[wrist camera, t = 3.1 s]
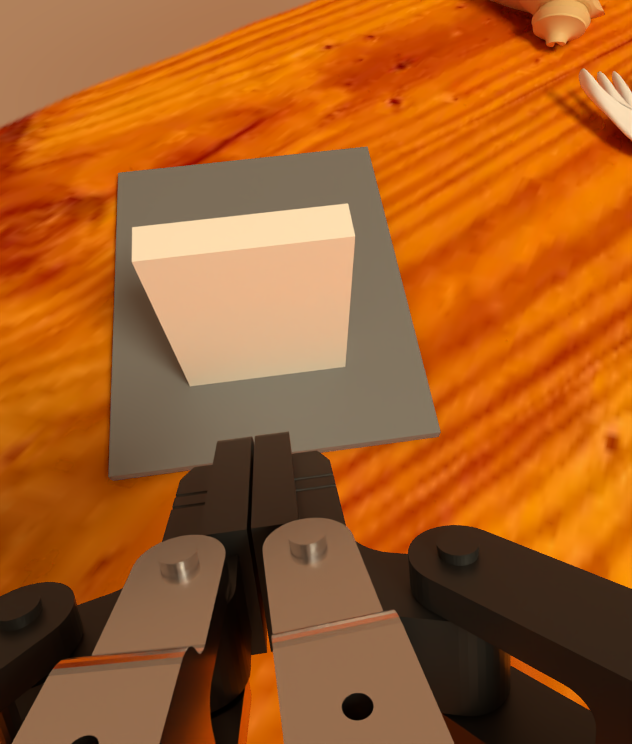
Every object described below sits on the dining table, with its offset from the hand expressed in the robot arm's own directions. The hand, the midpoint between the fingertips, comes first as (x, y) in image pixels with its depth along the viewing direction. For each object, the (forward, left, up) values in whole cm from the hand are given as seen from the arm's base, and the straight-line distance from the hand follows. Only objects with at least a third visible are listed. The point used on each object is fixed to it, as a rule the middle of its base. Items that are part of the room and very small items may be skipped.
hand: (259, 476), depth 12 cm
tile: (+5, +9, -14) cm, 18 cm away
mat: (+8, +13, -15) cm, 22 cm away
